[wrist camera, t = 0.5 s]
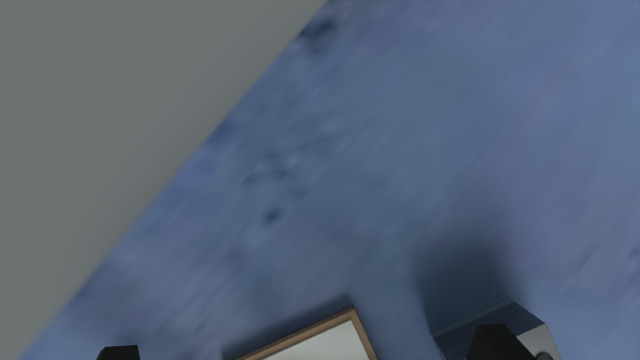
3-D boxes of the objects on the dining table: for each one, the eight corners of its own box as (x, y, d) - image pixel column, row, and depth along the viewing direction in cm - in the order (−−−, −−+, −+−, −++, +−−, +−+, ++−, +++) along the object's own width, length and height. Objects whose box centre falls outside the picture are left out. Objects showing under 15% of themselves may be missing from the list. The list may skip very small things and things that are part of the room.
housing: (533, 350, 36) (575, 387, 30) (454, 386, 36) (480, 430, 30) (509, 298, 36) (547, 324, 30) (430, 333, 36) (451, 367, 30)
